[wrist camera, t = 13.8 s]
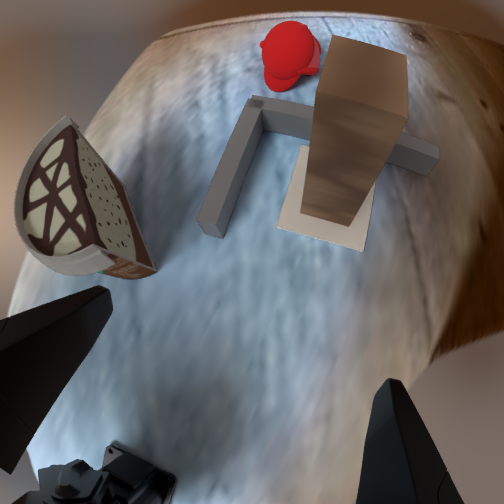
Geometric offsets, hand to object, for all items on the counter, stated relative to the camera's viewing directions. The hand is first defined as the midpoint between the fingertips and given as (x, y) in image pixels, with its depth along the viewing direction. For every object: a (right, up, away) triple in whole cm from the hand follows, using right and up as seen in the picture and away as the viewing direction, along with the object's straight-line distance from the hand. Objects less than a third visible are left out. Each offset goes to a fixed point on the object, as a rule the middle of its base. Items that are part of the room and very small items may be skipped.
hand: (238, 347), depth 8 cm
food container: (-12, +4, +17) cm, 21 cm away
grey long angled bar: (+7, +7, +16) cm, 19 cm away
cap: (+4, +22, +20) cm, 30 cm away
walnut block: (+7, +7, +15) cm, 18 cm away
